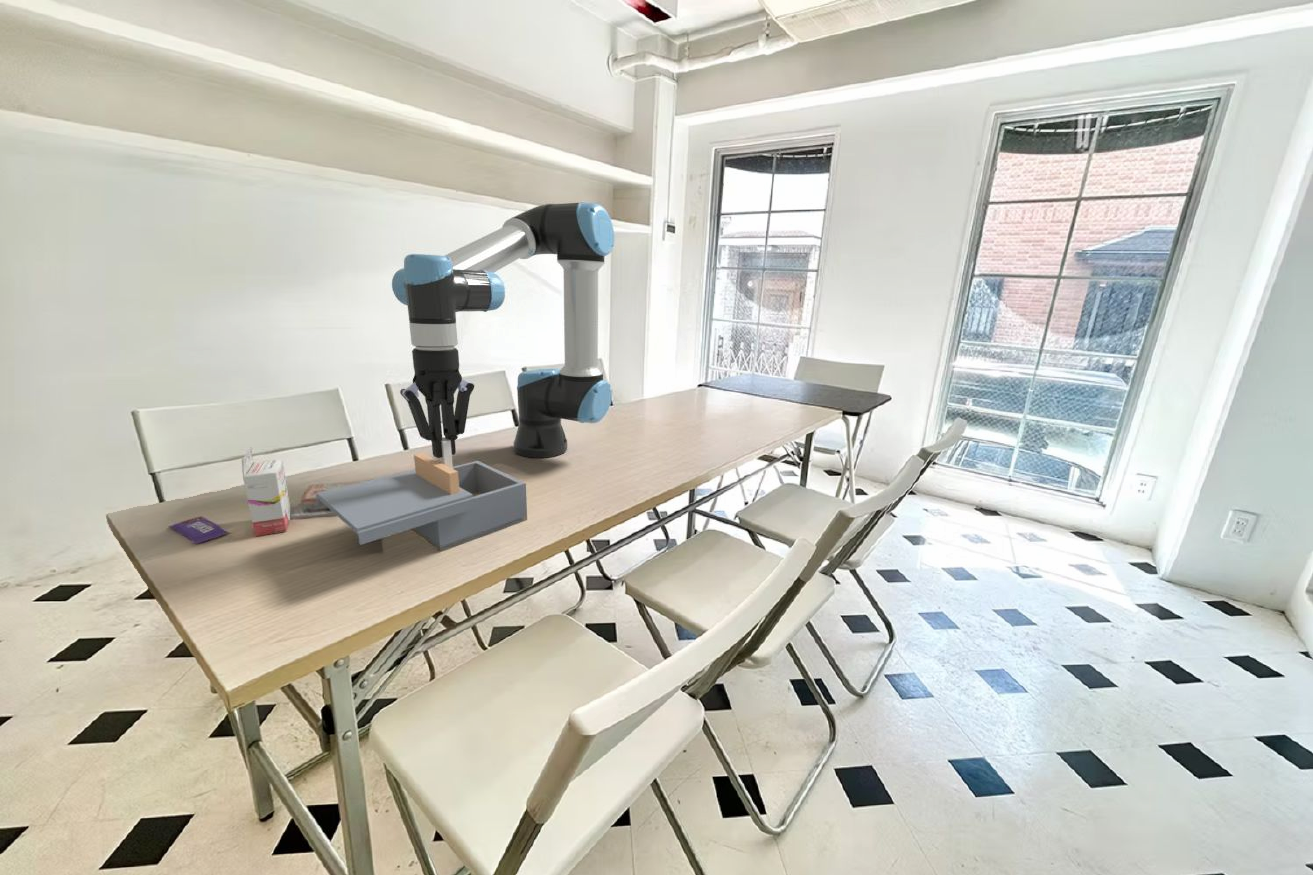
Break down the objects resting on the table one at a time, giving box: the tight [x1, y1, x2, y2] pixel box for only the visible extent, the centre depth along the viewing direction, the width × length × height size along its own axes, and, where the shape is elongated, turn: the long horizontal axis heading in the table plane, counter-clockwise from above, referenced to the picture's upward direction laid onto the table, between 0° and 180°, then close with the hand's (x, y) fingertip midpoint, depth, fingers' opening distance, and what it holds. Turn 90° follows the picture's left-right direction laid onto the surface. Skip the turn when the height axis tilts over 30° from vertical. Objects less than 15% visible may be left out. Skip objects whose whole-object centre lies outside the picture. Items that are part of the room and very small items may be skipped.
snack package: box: [168, 515, 230, 545], centre depth 91 cm, size 12×2×5 cm
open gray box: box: [410, 460, 528, 553], centre depth 99 cm, size 18×18×8 cm
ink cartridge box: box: [241, 447, 293, 537], centre depth 93 cm, size 9×5×15 cm, turn 30°
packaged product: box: [290, 481, 361, 520], centre depth 103 cm, size 18×5×10 cm
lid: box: [316, 452, 476, 546], centre depth 88 cm, size 19×20×6 cm
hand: (446, 472), depth 95 cm, fingers closed
